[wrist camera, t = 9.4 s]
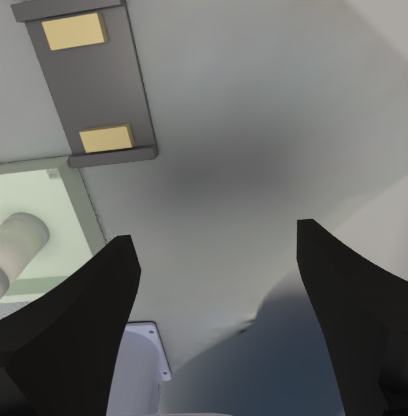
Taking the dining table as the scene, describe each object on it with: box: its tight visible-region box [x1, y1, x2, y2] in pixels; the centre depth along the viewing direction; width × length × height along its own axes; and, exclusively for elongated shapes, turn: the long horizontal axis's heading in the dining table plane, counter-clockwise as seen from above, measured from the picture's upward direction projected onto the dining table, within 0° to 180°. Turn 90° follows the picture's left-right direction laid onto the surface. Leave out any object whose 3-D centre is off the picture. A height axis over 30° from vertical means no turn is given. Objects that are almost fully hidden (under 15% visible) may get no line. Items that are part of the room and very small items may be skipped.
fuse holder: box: [10, 0, 158, 169], centre depth 19 cm, size 10×6×1 cm, turn 8°
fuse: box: [0, 212, 50, 299], centre depth 22 cm, size 4×4×6 cm
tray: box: [0, 155, 106, 303], centre depth 24 cm, size 12×12×2 cm
